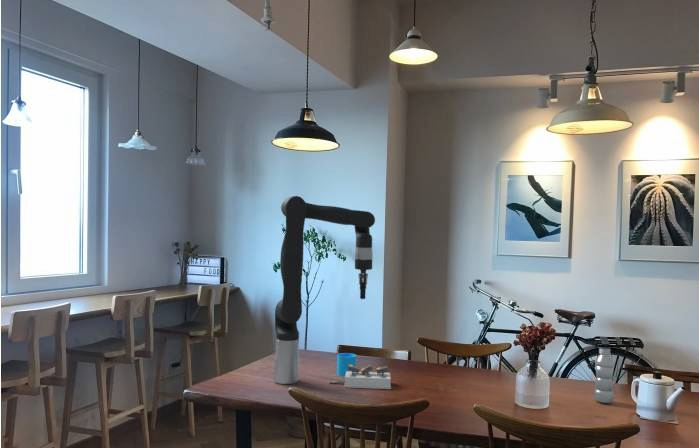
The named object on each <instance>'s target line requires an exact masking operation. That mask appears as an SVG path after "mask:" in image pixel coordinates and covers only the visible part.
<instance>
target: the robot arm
mask: <svg viewBox="0 0 699 448" xmlns="http://www.w3.org/2000/svg"><path fill="white" fill-rule="evenodd" d="M280 210H281V213H282V214H283V216H284V217H285V233H284V235H283V236H284V237H283V241H282V245H281V249H280V260H279V261H280V262H279V263H280V264H279V265H280V266H279V267H280V269H279V270H280V275H281V281H282V285H283V293H282V294H283V296H282V299H281V300H279V301H278V302H277V303H276V306H275V308H274V310H275V311H274V331H275V335H276V336H275V337H276V338H275V340H276V343H275V358H274V367H273V368H274V370H273V371H274V372H273V373H274V374H273V376H274V377H273V383H274V384H275V383H276V384H281V385H290V384H296V383H298V382H299V354H300V353H299V350H300V348H299V347H300V346H299V345H300V332H299V329H298V326H297V325H298V324H297V322H299V320H300V319H301V316H302V314H303V313H302V312H303V305H302V281H303V266H304V243H305V242H304V231H305V230H304V228H305V221H306V219H309V220H310V219H311V220H318V221H323V222H328V223H331V224H337V225H343V226H354V231H355V252H354V269H355V270H359V271H360V273H358V285H359V292H360V294H359V298H360V300H365V299H366V290H367V285H368V278H369V273H367V271H370V270H372V269H373V236H372V234H370V233H371V232H370V228H372V227H373V226H374V224H375V223H376V218H375V215H374V214H373V213H372V212H369V211H364V210H356V209H350V208H347V207H346V208H345V207H341V206H340V207H339V206H334V205H333V206H332V205H321V204H314V203H309V202H306V201H305V200H304V198H303V197H301V196H298V195H294V196H289V197H287V198H285V199H284V200H283V202H282V203H281V206H280Z"/></svg>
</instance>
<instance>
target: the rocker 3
mask: <svg viewBox="0 0 699 448" xmlns="http://www.w3.org/2000/svg"><path fill="white" fill-rule="evenodd" d="M375 372H377V374H380V373H389V367H388V365H385V366H380V367H376V371H375Z"/></svg>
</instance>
